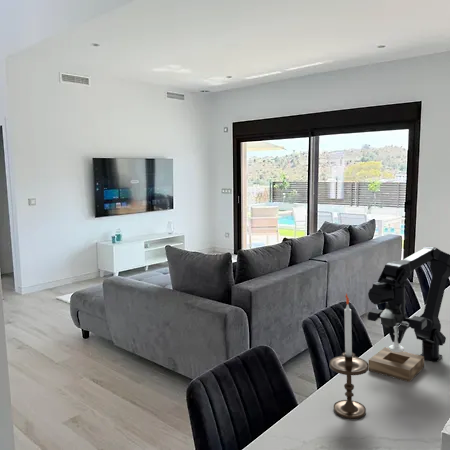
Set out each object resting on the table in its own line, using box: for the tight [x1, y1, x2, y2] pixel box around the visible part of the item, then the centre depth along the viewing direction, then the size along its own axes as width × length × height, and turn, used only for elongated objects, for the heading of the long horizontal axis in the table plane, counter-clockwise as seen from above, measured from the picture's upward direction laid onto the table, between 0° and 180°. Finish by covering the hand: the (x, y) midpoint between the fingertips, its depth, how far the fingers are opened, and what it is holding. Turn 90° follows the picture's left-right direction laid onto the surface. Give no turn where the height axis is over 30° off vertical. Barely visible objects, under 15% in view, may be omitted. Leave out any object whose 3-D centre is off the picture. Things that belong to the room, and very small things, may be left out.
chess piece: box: [388, 323, 405, 352], centre depth 148 cm, size 5×5×10 cm
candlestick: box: [329, 293, 369, 420], centre depth 122 cm, size 11×11×35 cm
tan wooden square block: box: [367, 346, 425, 383], centre depth 149 cm, size 14×14×4 cm
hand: (396, 342), depth 148 cm, fingers closed on chess piece
